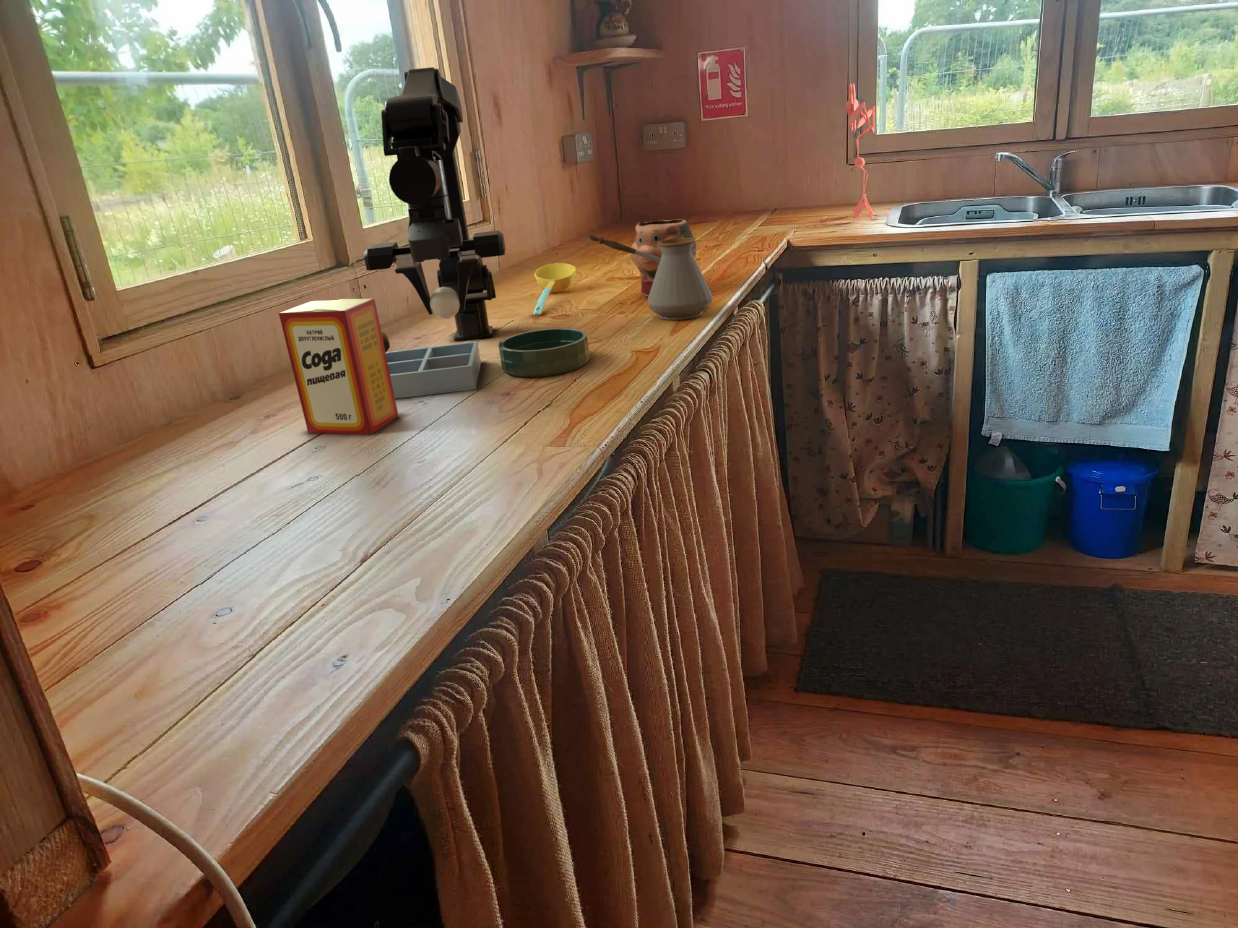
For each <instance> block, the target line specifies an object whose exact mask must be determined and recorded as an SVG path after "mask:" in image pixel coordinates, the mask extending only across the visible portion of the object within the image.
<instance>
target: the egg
mask: <svg viewBox="0 0 1238 928" xmlns="http://www.w3.org/2000/svg"><path fill="white" fill-rule="evenodd" d="M430 308H431V310H432V312H433V313H432V314H434V315H435V316H436V317H438V318H440V319H444V320H445V319H451V318H453V317H455V316H454V315H456V314H457V312H458V311H459V309H460V301H459V294H458V293H457V292H456V291H455V290H454V289H453V288H450V287H440V288H439V287H438V288H436V289H435V290H434V291H433V292H432V294H431V296H430Z"/></svg>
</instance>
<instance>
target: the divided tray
mask: <svg viewBox="0 0 1238 928" xmlns="http://www.w3.org/2000/svg"><path fill="white" fill-rule="evenodd" d="M386 357H387V362H388V367H389V372H390V377H391V382H392V387H393V392H394V397H395V400H396V399H402V398H403V399H404V398H412V397H420V396H429V395H436V394H444V393H446V394H447V393H453V392H463V391H471V390H476V389H477V383H478V379H479V374H480V370H481V365H482V360H481V359H482V358H481V354H480V348H479V341H469V342H461V343H452V344H444V345H436V346H435V345H434V346H426V347H418V348H417V347H416V348H409V349H399V350H392V351H387V352H386Z"/></svg>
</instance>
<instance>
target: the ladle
mask: <svg viewBox="0 0 1238 928" xmlns="http://www.w3.org/2000/svg"><path fill="white" fill-rule="evenodd" d="M576 274H577V267H575V266H574V265H572V264H569V263H565V262H554V263H548V264H545V265H542V266H540V267H538V268H537V269H536V270H535V271H534V277H535V281H536V282H537V284H538V285H539V286H540V287H541V289H543V291H542V292H541V294H540V296H539V298H538V300H537V302H536V305H535V307H534V310H533V313H532V314H533V316H541V315H542V313H543V310H544V306H545V304H546V301H547V299H548V296H549V294H550V293H553V294H558V293H562V292H564V291H566V290H568V289H569V288H570V287H572V285H573V284H574V282H575V279H576V277H577V275H576Z"/></svg>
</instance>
